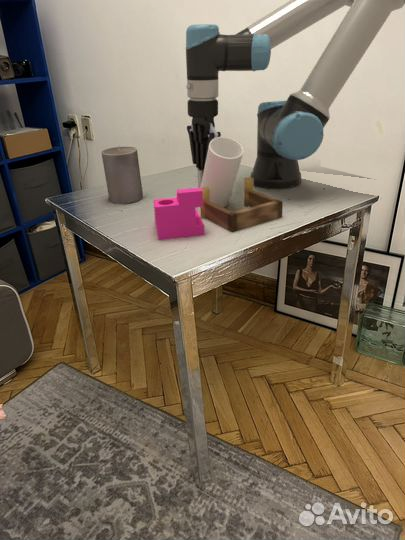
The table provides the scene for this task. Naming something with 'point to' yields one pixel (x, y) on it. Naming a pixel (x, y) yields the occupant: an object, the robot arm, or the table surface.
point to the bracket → (179, 215)
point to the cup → (221, 169)
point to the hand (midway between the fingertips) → (203, 192)
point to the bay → (258, 212)
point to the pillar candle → (122, 174)
